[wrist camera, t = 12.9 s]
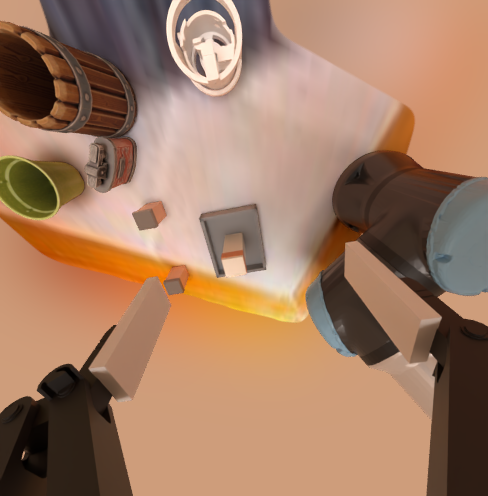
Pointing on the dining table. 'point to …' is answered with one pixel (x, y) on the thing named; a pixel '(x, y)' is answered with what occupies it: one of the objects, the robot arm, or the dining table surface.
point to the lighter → (110, 163)
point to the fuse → (234, 255)
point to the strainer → (207, 47)
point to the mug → (61, 86)
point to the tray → (233, 223)
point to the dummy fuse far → (176, 280)
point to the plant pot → (37, 186)
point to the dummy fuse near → (149, 215)
